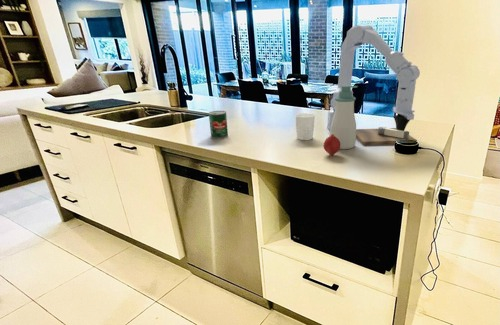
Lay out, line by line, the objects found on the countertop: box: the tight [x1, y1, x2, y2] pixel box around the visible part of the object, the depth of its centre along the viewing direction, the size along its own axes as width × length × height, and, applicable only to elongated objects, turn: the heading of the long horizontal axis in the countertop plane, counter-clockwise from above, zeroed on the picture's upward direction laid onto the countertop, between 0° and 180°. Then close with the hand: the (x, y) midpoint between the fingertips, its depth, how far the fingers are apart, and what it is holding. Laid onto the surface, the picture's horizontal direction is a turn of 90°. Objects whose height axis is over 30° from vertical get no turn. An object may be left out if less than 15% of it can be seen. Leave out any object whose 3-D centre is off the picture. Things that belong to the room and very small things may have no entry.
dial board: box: [356, 127, 418, 146], centre depth 123 cm, size 20×18×2 cm
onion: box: [323, 134, 341, 156], centre depth 106 cm, size 6×6×8 cm
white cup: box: [295, 112, 316, 141], centre depth 126 cm, size 8×8×10 cm
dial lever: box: [377, 126, 410, 139], centre depth 119 cm, size 12×3×3 cm, turn 41°
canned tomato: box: [208, 110, 229, 139], centre depth 135 cm, size 8×8×11 cm
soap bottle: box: [328, 85, 358, 150], centre depth 112 cm, size 10×10×23 cm
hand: (399, 133), depth 119 cm, fingers closed
